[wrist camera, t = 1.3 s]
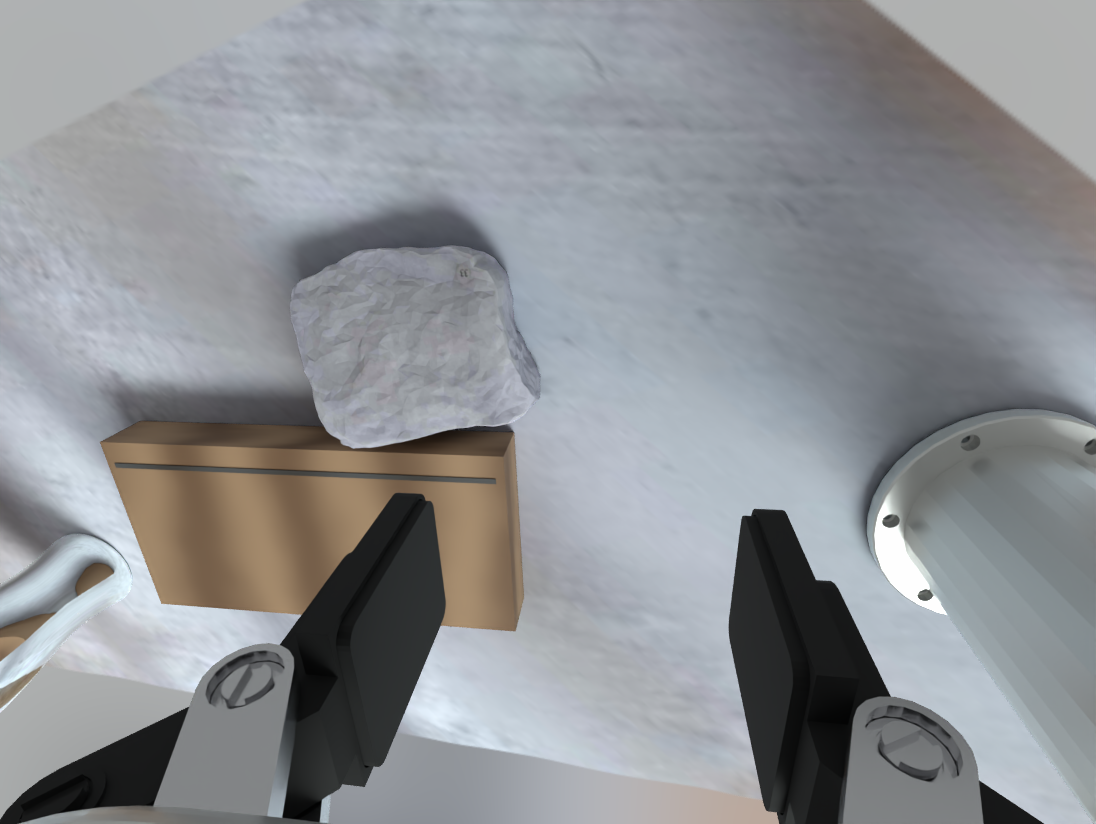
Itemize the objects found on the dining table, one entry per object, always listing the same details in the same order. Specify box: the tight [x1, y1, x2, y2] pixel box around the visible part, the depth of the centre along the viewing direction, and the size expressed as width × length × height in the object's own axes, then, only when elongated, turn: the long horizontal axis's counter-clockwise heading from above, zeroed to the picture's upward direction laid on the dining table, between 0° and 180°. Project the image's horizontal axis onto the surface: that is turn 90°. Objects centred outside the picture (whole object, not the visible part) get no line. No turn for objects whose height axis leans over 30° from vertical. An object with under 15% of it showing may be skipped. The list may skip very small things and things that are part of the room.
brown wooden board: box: [100, 421, 524, 631], centre depth 35 cm, size 24×12×3 cm, turn 92°
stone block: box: [290, 245, 541, 449], centre depth 30 cm, size 12×5×10 cm
